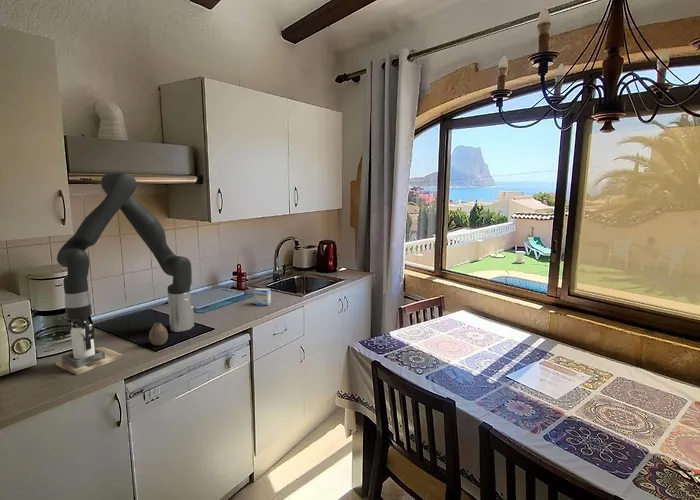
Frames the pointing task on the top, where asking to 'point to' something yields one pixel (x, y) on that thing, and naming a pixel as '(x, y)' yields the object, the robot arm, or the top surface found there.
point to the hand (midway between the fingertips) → (83, 348)
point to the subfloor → (88, 360)
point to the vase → (158, 334)
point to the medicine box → (262, 296)
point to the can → (80, 344)
